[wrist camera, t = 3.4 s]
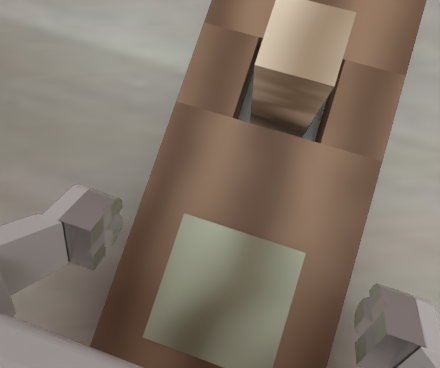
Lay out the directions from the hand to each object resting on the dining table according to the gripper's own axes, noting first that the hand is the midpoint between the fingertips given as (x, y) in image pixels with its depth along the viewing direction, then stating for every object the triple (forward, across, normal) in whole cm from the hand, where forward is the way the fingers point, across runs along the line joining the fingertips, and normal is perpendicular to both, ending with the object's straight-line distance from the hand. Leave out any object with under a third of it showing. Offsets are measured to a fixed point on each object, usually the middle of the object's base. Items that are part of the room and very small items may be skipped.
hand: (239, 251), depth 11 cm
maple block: (+17, 0, +2) cm, 17 cm away
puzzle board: (+13, 0, +7) cm, 15 cm away
